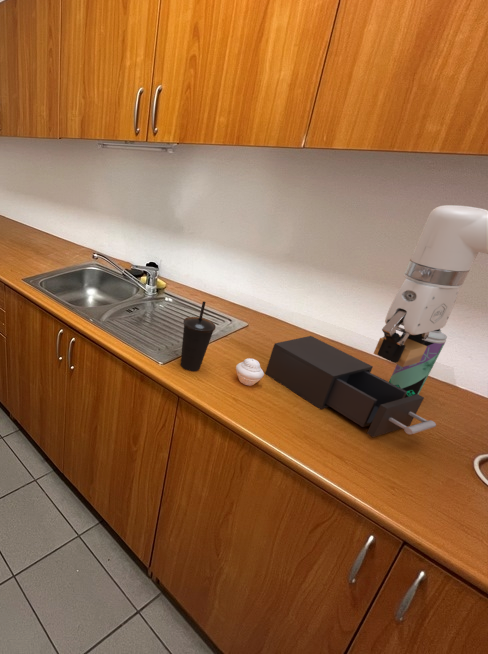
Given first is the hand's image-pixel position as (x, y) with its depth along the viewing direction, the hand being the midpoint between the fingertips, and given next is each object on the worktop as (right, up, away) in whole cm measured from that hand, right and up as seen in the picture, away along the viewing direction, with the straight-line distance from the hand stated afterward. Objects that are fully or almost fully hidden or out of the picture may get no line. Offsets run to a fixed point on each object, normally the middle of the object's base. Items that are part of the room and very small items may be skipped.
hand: (397, 355), depth 80 cm
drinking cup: (-27, -9, +30) cm, 41 cm away
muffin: (-16, -12, +23) cm, 30 cm away
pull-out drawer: (+3, -16, +10) cm, 19 cm away
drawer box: (0, -12, +21) cm, 24 cm away
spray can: (+19, -13, +18) cm, 29 cm away
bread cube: (0, -1, 0) cm, 1 cm away
